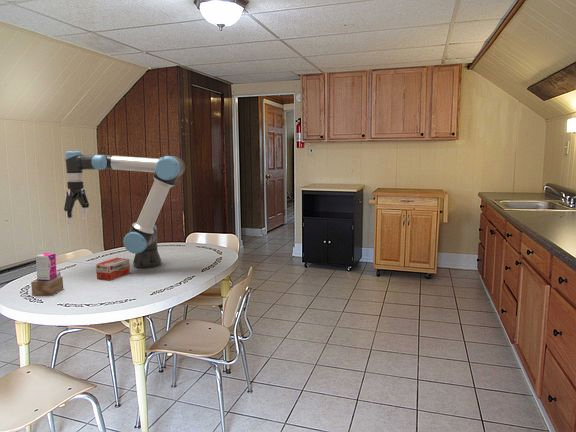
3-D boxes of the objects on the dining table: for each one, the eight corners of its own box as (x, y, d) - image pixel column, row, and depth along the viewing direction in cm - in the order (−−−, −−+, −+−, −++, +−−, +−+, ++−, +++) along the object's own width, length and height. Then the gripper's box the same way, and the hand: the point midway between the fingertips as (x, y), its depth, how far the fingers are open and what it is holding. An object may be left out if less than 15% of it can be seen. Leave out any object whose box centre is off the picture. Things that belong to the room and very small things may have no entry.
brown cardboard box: (63, 289, 200) (62, 276, 199) (52, 295, 191) (51, 282, 190) (44, 289, 201) (43, 276, 200) (32, 295, 192) (31, 282, 191)
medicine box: (109, 281, 214) (108, 265, 212) (96, 279, 216) (95, 263, 215) (130, 273, 228) (129, 258, 226) (118, 271, 230) (117, 257, 229)
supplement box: (48, 281, 192) (46, 256, 190) (36, 280, 193) (34, 255, 191) (57, 277, 198) (55, 253, 196) (45, 277, 199) (43, 252, 197)
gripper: (80, 179, 236) (83, 218, 239) (54, 182, 212) (57, 225, 215) (94, 179, 236) (96, 218, 239) (69, 182, 211) (72, 225, 214)
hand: (78, 221), depth 227 cm, fingers open, 13 cm apart
